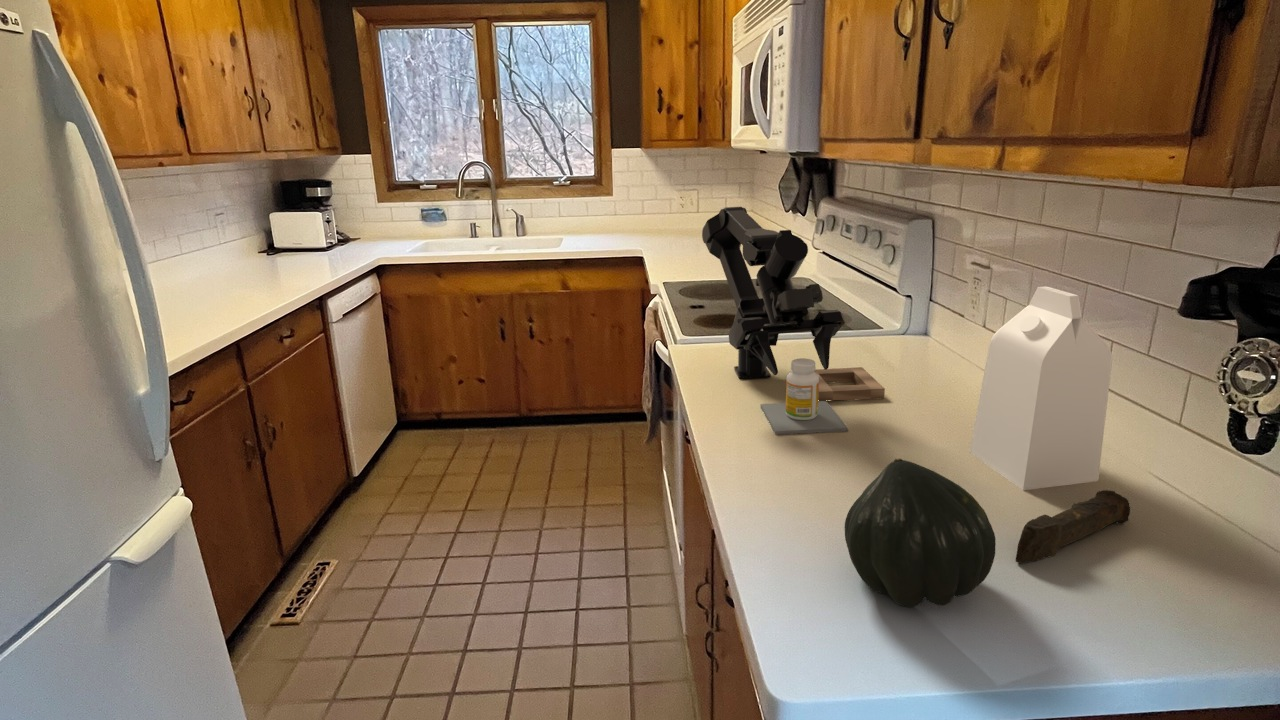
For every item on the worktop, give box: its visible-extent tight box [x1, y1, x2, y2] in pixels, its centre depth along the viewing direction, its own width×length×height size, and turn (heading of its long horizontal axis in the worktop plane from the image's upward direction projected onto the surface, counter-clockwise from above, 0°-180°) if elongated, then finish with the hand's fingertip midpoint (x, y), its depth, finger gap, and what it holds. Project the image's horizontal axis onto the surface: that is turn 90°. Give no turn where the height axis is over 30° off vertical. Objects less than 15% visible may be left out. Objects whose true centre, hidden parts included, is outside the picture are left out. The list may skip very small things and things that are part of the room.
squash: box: [844, 457, 997, 608], centre depth 75 cm, size 14×15×15 cm
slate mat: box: [760, 401, 849, 436], centre depth 120 cm, size 12×12×1 cm
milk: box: [969, 285, 1113, 491], centre depth 97 cm, size 12×12×26 cm
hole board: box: [814, 366, 886, 401], centre depth 133 cm, size 12×12×2 cm
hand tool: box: [1015, 489, 1131, 564], centre depth 83 cm, size 19×4×5 cm, turn 116°
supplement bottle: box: [785, 357, 819, 420], centre depth 119 cm, size 5×5×10 cm
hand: (801, 371), depth 118 cm, fingers open, 9 cm apart
